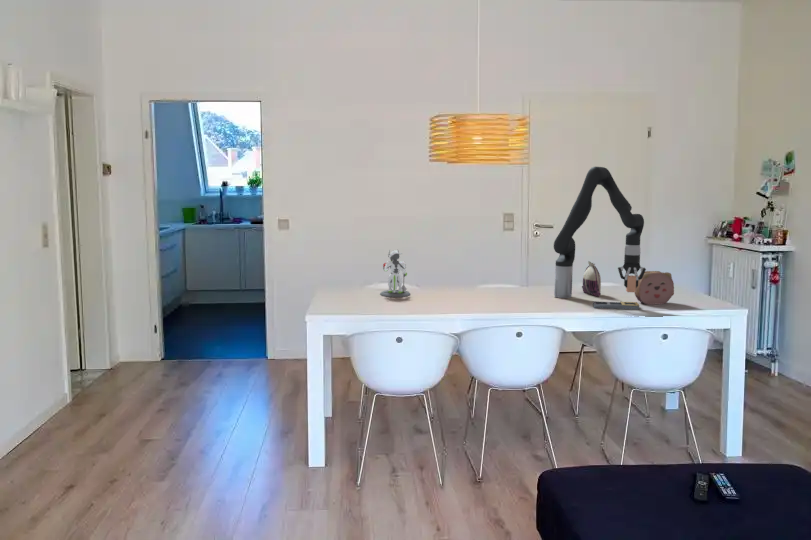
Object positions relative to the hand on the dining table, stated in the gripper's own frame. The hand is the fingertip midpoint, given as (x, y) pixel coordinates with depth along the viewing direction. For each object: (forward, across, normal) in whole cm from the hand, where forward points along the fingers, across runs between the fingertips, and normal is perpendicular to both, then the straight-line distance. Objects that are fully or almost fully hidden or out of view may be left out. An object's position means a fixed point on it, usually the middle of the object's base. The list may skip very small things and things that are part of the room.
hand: (630, 287), depth 369 cm
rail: (+11, +7, 0) cm, 13 cm away
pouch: (+11, +16, -36) cm, 41 cm away
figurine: (+10, +124, -16) cm, 126 cm away
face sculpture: (+11, -14, -16) cm, 24 cm away
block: (+2, 0, 0) cm, 2 cm away
